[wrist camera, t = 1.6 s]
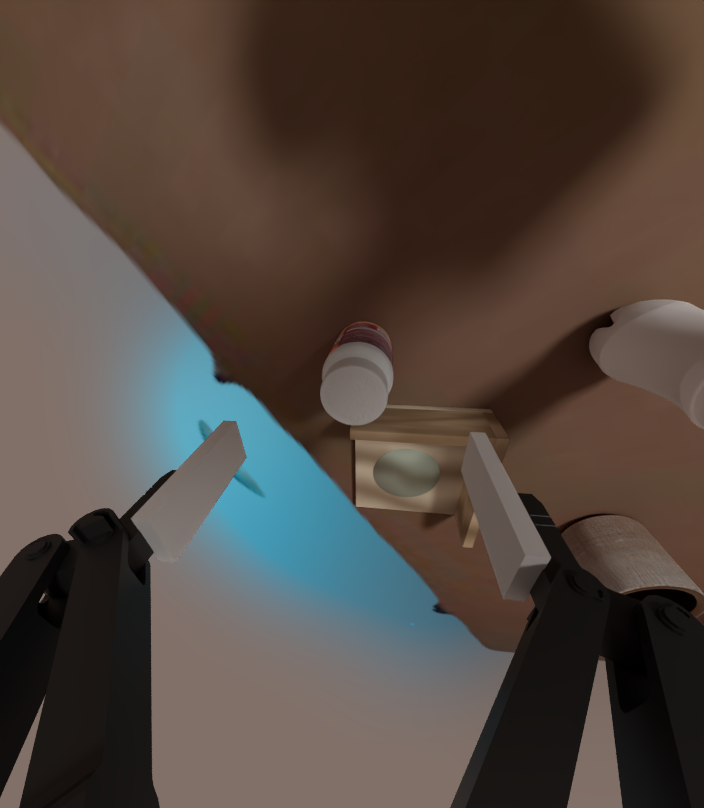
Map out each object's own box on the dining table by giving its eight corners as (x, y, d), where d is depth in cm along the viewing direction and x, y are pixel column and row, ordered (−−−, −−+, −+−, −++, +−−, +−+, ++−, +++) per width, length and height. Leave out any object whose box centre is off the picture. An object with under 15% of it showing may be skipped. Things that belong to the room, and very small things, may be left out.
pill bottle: (335, 319, 28) (308, 356, 19) (394, 320, 28) (397, 359, 18) (337, 373, 32) (315, 428, 22) (390, 375, 31) (391, 433, 21)
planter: (539, 542, 42) (576, 613, 34) (596, 501, 37) (657, 574, 28) (596, 564, 43) (646, 639, 35) (661, 527, 38) (737, 605, 30)
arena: (355, 403, 33) (350, 430, 28) (490, 409, 32) (510, 439, 27) (356, 502, 42) (352, 536, 37) (461, 510, 41) (472, 547, 36)
